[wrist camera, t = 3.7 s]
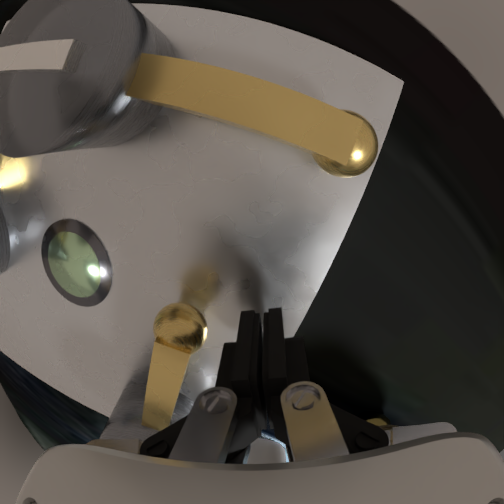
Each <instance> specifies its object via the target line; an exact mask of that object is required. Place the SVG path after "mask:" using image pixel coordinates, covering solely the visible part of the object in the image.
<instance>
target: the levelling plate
mask: <svg viewBox="0 0 504 504" xmlns="http://www.w3.org/2000/svg"><path fill="white" fill-rule="evenodd" d="M131 4H133V5H134V6H135V7H136V8H137V9H138V10H139V11H140V12H141V13H142V14H143V15H145V16H146V17H147V18H148V19H149V20H150V21H151V22H152V23H153V24H154V25H155V26H156V27H157V28H158V29H159V30H160V31H161V32H162V33H163V34H164V35H165V36H166V37H167V39H168V40H169V42H170V44H171V47H172V49H173V53H174V58H179V59H184V60H189V61H194V62H199V63H204V64H208V65H212V66H217V67H221V68H225V69H228V70H232V71H236V72H239V73H243V74H246V75H250V76H253V77H256V78H260V79H263V80H266V81H269V82H272V83H275V84H278V85H281V86H283V87H286V88H289V89H292V90H294V91H297V92H300V93H302V94H305V95H307V96H310V97H312V98H315V99H317V100H320V101H322V102H324V103H327V104H329V105H331V106H333V107H336V108H338V109H345V110H350V111H354V112H356V113H358V114H360V115H362V116H363V117H364V118H366V119H367V120H368V121H369V122H370V124H371V125H372V126H373V128H374V130H375V132H376V135H377V139H378V153H377V156H376V159H375V161H374V163H373V164H372V165H371V167H370V168H369V169H368V170H367V171H365V172H364V173H362V174H360V175H358V176H355V177H350V178H341V177H336V176H333V175H331V174H329V173H327V172H326V171H324V170H323V169H322V168H321V167H319V165H318V164H317V163H316V162H315V160H314V159H313V157H312V154H309V153H307V152H304V151H302V150H299V149H297V148H294V147H292V146H289V145H287V144H284V143H281V142H279V141H276V140H273V139H270V138H268V137H265V136H262V135H259V134H256V133H253V132H250V131H247V130H244V129H241V128H238V127H235V126H232V125H229V124H226V123H222V122H219V121H216V120H212V119H209V118H205V117H202V116H198V115H194V114H191V113H187V112H183V111H179V110H175V109H171V108H167V107H162V109H161V110H160V112H159V113H158V115H157V116H156V117H155V118H154V120H153V121H152V122H151V123H150V124H149V125H148V126H147V127H146V128H145V129H144V130H143V131H141V132H140V133H139V134H137V135H136V136H135V137H133V138H131V139H130V140H128V141H126V142H123V143H121V144H118V145H115V146H111V147H102V148H90V149H80V150H70V151H62V152H54V153H47V154H40V155H34V156H27V157H22V158H12V157H7V156H5V155H3V154H1V153H0V206H1V208H2V210H3V213H4V216H5V219H6V223H7V227H8V232H9V238H10V260H9V264H8V267H7V269H6V270H5V272H3V273H2V274H1V275H0V351H2V352H3V353H4V354H5V355H7V356H8V357H9V358H11V359H12V360H13V361H15V362H16V363H17V364H19V365H20V366H21V367H23V368H24V369H26V370H27V371H29V372H30V373H31V374H33V375H34V376H36V377H37V378H39V379H40V380H42V381H44V382H45V383H47V384H48V385H50V386H52V387H53V388H55V389H56V390H58V391H60V392H62V393H63V394H65V395H67V396H68V397H70V398H72V399H74V400H76V401H78V402H79V403H81V404H83V405H85V406H87V407H89V408H91V409H93V410H95V411H97V412H99V413H101V414H103V415H105V416H107V417H109V418H110V416H111V413H112V411H113V409H114V407H115V405H116V403H117V401H118V399H119V397H120V395H121V393H122V392H123V390H124V389H125V388H126V387H127V386H129V385H131V384H135V383H147V381H148V375H149V369H150V363H151V357H152V352H153V346H154V341H155V337H154V333H153V324H154V320H155V317H156V315H157V314H158V312H159V311H160V310H161V309H162V308H163V307H165V306H167V305H169V304H171V303H176V302H183V303H188V304H190V305H192V306H194V307H196V308H197V309H198V310H199V311H200V312H201V313H202V314H203V316H204V318H205V320H206V323H207V328H208V333H207V338H206V341H205V343H204V345H203V346H202V347H201V348H200V349H199V350H198V351H197V352H196V353H194V354H192V355H191V357H190V360H189V363H188V366H187V369H186V373H185V376H184V379H183V382H182V386H181V389H180V392H179V393H181V394H183V395H185V396H186V397H188V398H189V399H191V400H192V401H193V402H195V399H196V398H197V396H198V395H199V394H200V393H201V392H203V391H204V390H206V389H208V388H212V387H215V384H216V379H217V374H218V369H219V364H220V359H221V355H222V350H223V345H224V343H227V342H236V340H237V333H238V327H239V320H240V314H241V311H247V310H255V313H260V317H261V324H262V331H263V316H264V312H268V309H269V308H279V307H282V317H283V327H284V337H285V338H290V337H293V336H294V335H295V333H296V331H297V329H298V327H299V326H300V324H301V322H302V320H303V318H304V316H305V314H306V313H307V311H308V309H309V307H310V305H311V303H312V301H313V299H314V297H315V295H316V294H317V292H318V290H319V288H320V286H321V284H322V282H323V280H324V278H325V276H326V274H327V272H328V270H329V268H330V266H331V264H332V261H333V259H334V257H335V255H336V253H337V251H338V249H339V247H340V245H341V243H342V240H343V238H344V236H345V234H346V232H347V229H348V227H349V225H350V223H351V221H352V218H353V216H354V214H355V211H356V209H357V207H358V205H359V202H360V200H361V198H362V195H363V193H364V190H365V188H366V186H367V183H368V181H369V178H370V176H371V173H372V171H373V168H374V166H375V163H376V161H377V158H378V155H379V153H380V150H381V148H382V145H383V142H384V139H385V137H386V134H387V131H388V128H389V126H390V123H391V120H392V117H393V114H394V111H395V108H396V105H397V102H398V99H399V96H400V93H401V90H402V86H403V83H404V81H402V80H400V79H398V78H397V77H395V76H393V75H392V74H390V73H388V72H386V71H385V70H383V69H381V68H379V67H377V66H375V65H373V64H371V63H369V62H368V61H366V60H364V59H362V58H359V57H357V56H355V55H353V54H351V53H349V52H347V51H345V50H342V49H340V48H338V47H335V46H333V45H331V44H328V43H326V42H323V41H321V40H318V39H316V38H313V37H310V36H308V35H305V34H302V33H299V32H296V31H293V30H290V29H287V28H284V27H281V26H278V25H274V24H271V23H267V22H264V21H260V20H256V19H252V18H248V17H244V16H239V15H235V14H230V13H225V12H219V11H214V10H207V9H201V8H193V7H185V6H175V5H162V4H134V3H131ZM9 22H10V20H9V21H6V24H5V26H4V28H3V30H4V29H5V27H6V26H7V24H8V23H9ZM3 30H2V32H3ZM1 34H2V33H1Z"/></svg>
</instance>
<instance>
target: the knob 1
mask: <svg viewBox="0 0 504 504" xmlns="http://www.w3.org/2000/svg"><path fill="white" fill-rule="evenodd" d="M162 107H167V108H171V109H175V110H179V111H183V112H187V113H191V114H194V115H198V116H202V117H205V118H209V119H212V120H216V121H219V122H222V123H226V124H229V125H232V126H235V127H238V128H241V129H244V130H247V131H250V132H253V133H256V134H259V135H262V136H265V137H268V138H270V139H273V140H276V141H279V142H281V143H284V144H287V145H289V146H292V147H294V148H297V149H299V150H302V151H304V152H307V153H309V154H312V157H313V159H314V160H315V162H316V163H317V164H318V165H319V167H321V168H322V169H323V170H324V171H326V172H327V173H329V174H331V175H333V176H336V177H341V178H350V177H355V176H358V175H360V174H362V173H364V172H365V171H367V170H368V169H369V168H370V167H371V165H372V164H373V163H374V161H375V159H376V156H377V153H378V139H377V135H376V132H375V130H374V128H373V126H372V125H371V124H370V122H369V121H368V120H367V119H366V118H364V117H363V116H362V115H360V114H358V113H356V112H354V111H350V110H345V109H338V108H336V107H333V106H331V105H329V104H327V103H324V102H322V101H320V100H317V99H315V98H312V97H310V96H307V95H305V94H302V93H300V92H297V91H294V90H292V89H289V88H286V87H283V86H281V85H278V84H275V83H272V82H269V81H266V80H263V79H260V78H256V77H253V76H250V75H246V74H243V73H239V72H236V71H232V70H228V69H225V68H221V67H217V66H212V65H208V64H204V63H199V62H194V61H189V60H184V59H179V58H174V53H173V49H172V47H171V44H170V42H169V40H168V39H167V37H166V36H165V35H164V34H163V33H162V32H161V31H160V30H159V29H158V28H157V27H156V26H155V25H154V24H153V23H152V22H151V21H150V20H149V19H148V18H147V17H146V16H145V15H143V14H142V13H141V12H140V11H139V10H138V9H137V8H136V7H135V6H134V5H133V4H131V3H130V2H129V1H128V0H28V1H27V2H26V3H25V4H24V5H23V6H22V7H21V8H20V9H19V10H18V12H17V13H16V14H15V15H14V16H13V18H12V19H11V20H10V22H9V23H8V24H7V26H6V27H5V29H4V30H3V32H2V34H1V35H0V153H1V154H3V155H5V156H7V157H12V158H22V157H27V156H34V155H40V154H47V153H54V152H62V151H70V150H80V149H90V148H102V147H111V146H115V145H118V144H121V143H123V142H126V141H128V140H130V139H131V138H133V137H135V136H136V135H137V134H139V133H140V132H141V131H143V130H144V129H145V128H146V127H147V126H148V125H149V124H150V123H151V122H152V121H153V120H154V118H155V117H156V116H157V115H158V113H159V112H160V110H161V109H162Z"/></svg>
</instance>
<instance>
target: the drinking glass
mask: <svg viewBox="0 0 504 504" xmlns="http://www.w3.org/2000/svg"><path fill="white" fill-rule="evenodd" d="M268 463H286V456H285V449H284V448H283V447H282V445H281V444H279V443H277V442H274V441H272V440H269V439H263V438H257V439H256V440H255V441H254V442H252V443H251V449H250V453H249V457H248V461H247V464H268Z"/></svg>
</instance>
